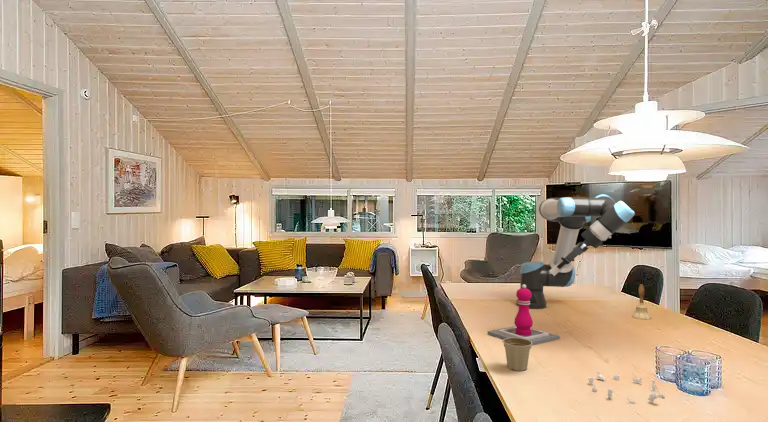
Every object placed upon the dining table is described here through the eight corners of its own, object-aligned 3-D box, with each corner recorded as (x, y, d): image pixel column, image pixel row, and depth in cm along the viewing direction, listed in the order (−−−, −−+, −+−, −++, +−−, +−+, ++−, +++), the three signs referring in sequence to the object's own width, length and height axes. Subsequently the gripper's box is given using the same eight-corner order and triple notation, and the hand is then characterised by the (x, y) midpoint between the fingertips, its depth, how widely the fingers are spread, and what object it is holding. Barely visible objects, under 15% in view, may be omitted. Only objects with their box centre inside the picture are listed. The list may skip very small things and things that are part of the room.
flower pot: (516, 374, 146) (516, 347, 145) (496, 365, 154) (496, 339, 154) (538, 370, 150) (538, 343, 150) (517, 361, 158) (517, 336, 158)
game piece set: (681, 405, 125) (681, 391, 125) (609, 407, 124) (609, 392, 124) (636, 378, 144) (636, 366, 144) (574, 379, 143) (574, 367, 143)
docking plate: (487, 334, 192) (487, 329, 192) (520, 327, 203) (520, 323, 203) (526, 346, 175) (526, 341, 175) (559, 338, 186) (560, 333, 186)
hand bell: (632, 318, 222) (633, 285, 222) (630, 314, 230) (631, 282, 229) (652, 320, 219) (653, 286, 219) (650, 316, 226) (650, 283, 226)
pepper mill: (530, 331, 192) (531, 283, 192) (534, 336, 185) (535, 286, 185) (512, 330, 193) (513, 282, 193) (516, 335, 186) (516, 285, 185)
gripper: (602, 244, 166) (557, 282, 173) (605, 239, 188) (565, 274, 195) (586, 229, 168) (542, 267, 175) (590, 226, 190) (551, 260, 197)
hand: (554, 271), depth 185 cm, fingers open, 13 cm apart
